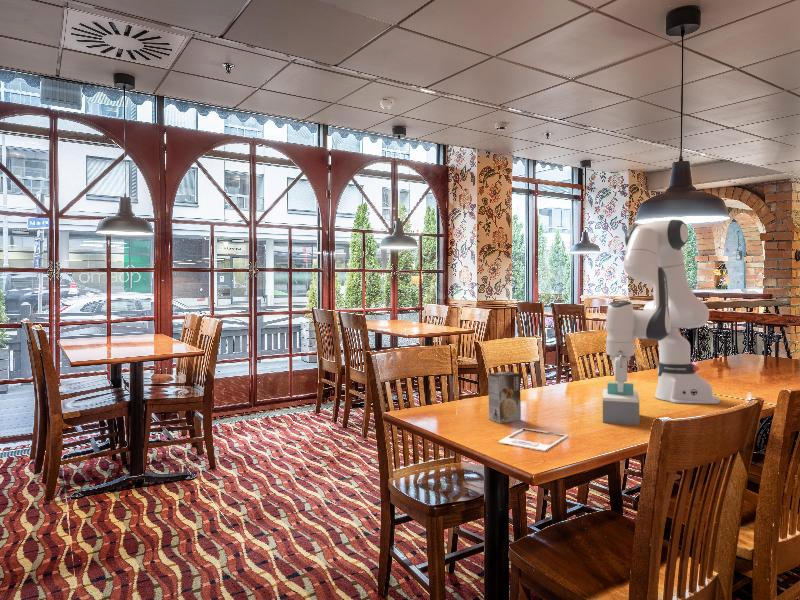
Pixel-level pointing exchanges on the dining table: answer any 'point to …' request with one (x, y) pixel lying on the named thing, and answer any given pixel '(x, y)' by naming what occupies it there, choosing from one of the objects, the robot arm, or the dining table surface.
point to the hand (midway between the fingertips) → (620, 390)
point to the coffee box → (504, 396)
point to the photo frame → (529, 444)
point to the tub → (621, 412)
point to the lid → (620, 393)
